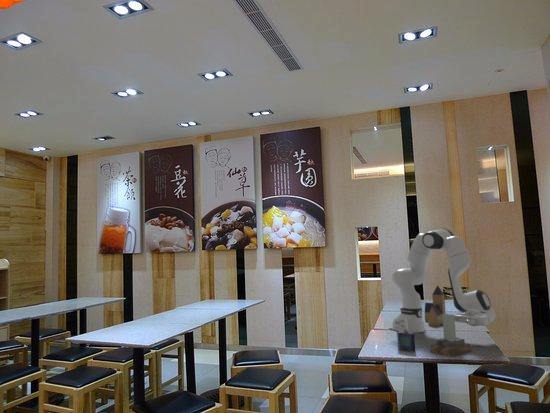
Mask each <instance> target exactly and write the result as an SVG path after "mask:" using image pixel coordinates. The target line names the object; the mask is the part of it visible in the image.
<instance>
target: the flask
mask: <svg viewBox="0 0 550 413" xmlns="http://www.w3.org/2000/svg"><path fill="white" fill-rule="evenodd" d="M396 337H397V338H396V339H397V349H398V350H400V351H404V350H405V351H404V352H410V353H411V352H412V353H416V343H415V341H416V340H415V333H413V332H408V331H407V329H405V330H404V332H400V331H397V332H396Z"/></svg>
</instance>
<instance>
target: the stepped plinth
mask: <svg viewBox="0 0 550 413" xmlns="http://www.w3.org/2000/svg"><path fill="white" fill-rule="evenodd" d="M430 352H431V353H434V354H438V355H443V356H447V357H452V358H454V357H457V356H460V355H463V354H467V353H470V352H472V344H471V343H468V342H465V338H463V337H462V338H461V337H457V336H456V339H454V340H447V339H444V337H442V338H439V339H438V338H437V339H435V343H432V344H430Z"/></svg>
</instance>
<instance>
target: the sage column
mask: <svg viewBox="0 0 550 413" xmlns="http://www.w3.org/2000/svg"><path fill="white" fill-rule="evenodd" d="M442 317H443V324H442V327H443V328H442V329H443V338H444V339H447V340H454V339H456V337H457V335H456V333H457V332H456V322H455V319H454V315H453V314H451V313H446V314H443V315H442Z"/></svg>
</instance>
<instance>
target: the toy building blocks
mask: <svg viewBox="0 0 550 413" xmlns="http://www.w3.org/2000/svg"><path fill="white" fill-rule="evenodd" d="M431 297H432V302H425V303H424V321H425V322H427V321H428V322H427V323H428V324H427V325H428V326H432V325H434V327H439V326H441V325H443V317H442V315H443V314H447V312H446V301H445V300H446V299H445V293H444V292H443V290H442V289H441V288H440V286H439V285H438V284H437V286H436V287H435V289H434V291H433V293H432V296H431Z"/></svg>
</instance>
